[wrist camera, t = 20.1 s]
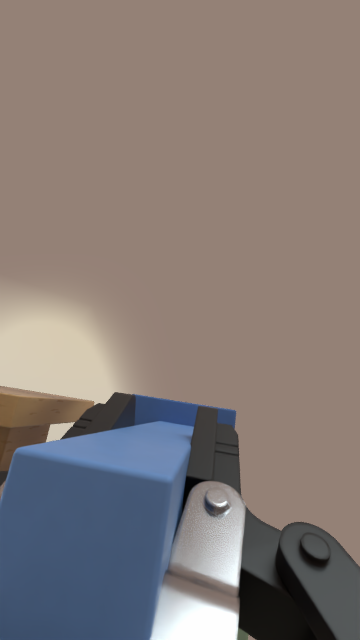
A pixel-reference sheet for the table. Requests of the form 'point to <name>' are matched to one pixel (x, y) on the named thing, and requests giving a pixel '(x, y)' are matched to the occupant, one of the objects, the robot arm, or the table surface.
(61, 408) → the tall stand
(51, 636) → the peg
